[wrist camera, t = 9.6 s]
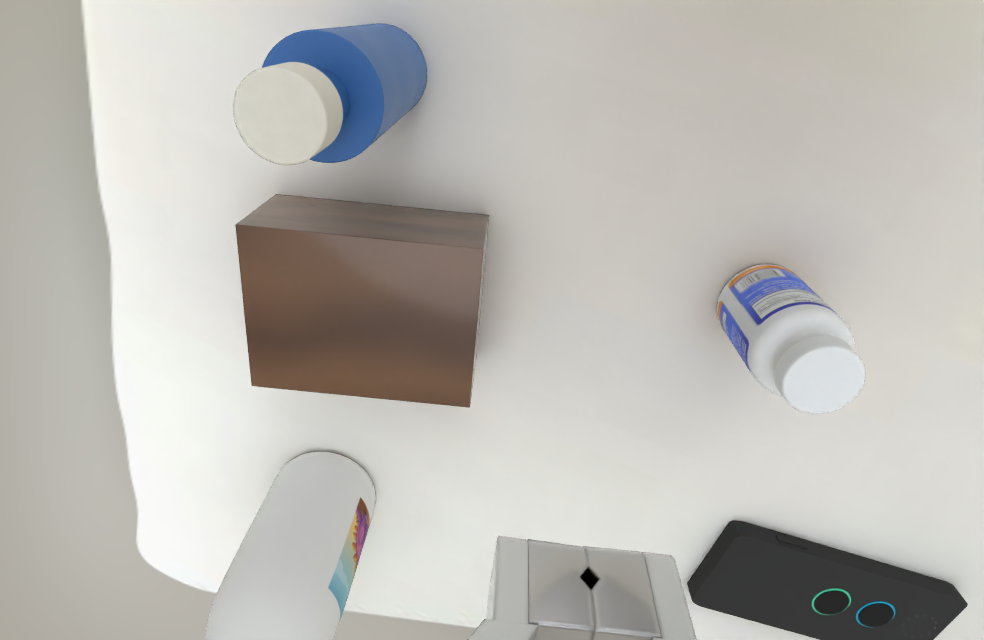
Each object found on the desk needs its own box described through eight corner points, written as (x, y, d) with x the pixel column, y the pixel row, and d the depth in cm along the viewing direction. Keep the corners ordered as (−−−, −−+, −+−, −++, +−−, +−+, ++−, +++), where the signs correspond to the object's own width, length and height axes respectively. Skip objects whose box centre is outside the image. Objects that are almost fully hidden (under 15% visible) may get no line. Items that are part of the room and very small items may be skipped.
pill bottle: (775, 348, 41) (844, 439, 32) (700, 325, 40) (749, 412, 32) (819, 275, 39) (906, 353, 30) (739, 250, 38) (803, 321, 29)
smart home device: (908, 667, 52) (688, 606, 49) (897, 648, 53) (683, 588, 51) (974, 602, 48) (739, 533, 46) (960, 584, 50) (732, 516, 47)
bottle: (350, 56, 36) (263, -223, 22) (432, 64, 36) (401, -211, 22) (314, 277, 33) (183, 126, 18) (404, 286, 33) (344, 141, 18)
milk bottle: (258, 487, 48) (103, 768, 30) (317, 430, 46) (184, 701, 28) (337, 540, 50) (236, 831, 32) (398, 488, 48) (323, 775, 30)
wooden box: (275, 194, 38) (235, 224, 32) (489, 215, 38) (483, 248, 32) (285, 338, 42) (251, 386, 37) (476, 357, 42) (469, 407, 37)
